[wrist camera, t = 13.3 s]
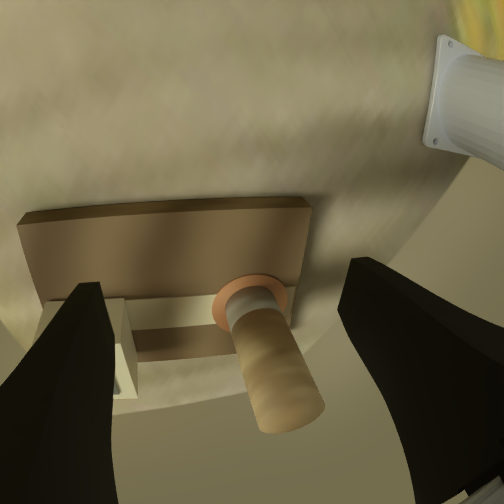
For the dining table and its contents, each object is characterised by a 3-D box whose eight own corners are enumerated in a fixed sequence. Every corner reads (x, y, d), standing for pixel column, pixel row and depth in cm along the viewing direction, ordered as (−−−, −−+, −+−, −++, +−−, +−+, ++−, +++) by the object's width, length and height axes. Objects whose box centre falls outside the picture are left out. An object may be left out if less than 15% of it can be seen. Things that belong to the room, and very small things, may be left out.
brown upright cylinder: (272, 279, 19) (326, 389, 13) (277, 316, 21) (324, 419, 15) (219, 294, 19) (253, 413, 12) (230, 330, 21) (263, 439, 14)
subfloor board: (302, 196, 19) (313, 208, 17) (279, 332, 24) (285, 348, 23) (25, 212, 15) (15, 226, 13) (70, 348, 20) (67, 365, 19)
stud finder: (123, 297, 17) (120, 345, 14) (137, 354, 20) (138, 400, 17) (45, 301, 16) (31, 347, 13) (68, 357, 19) (62, 400, 16)
